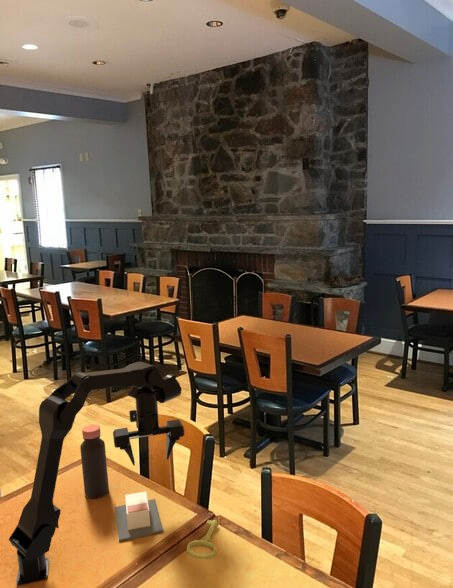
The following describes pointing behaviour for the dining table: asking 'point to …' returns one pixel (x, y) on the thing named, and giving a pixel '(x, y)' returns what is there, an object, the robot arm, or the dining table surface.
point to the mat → (138, 532)
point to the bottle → (94, 462)
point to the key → (204, 542)
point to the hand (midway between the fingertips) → (150, 461)
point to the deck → (137, 510)
